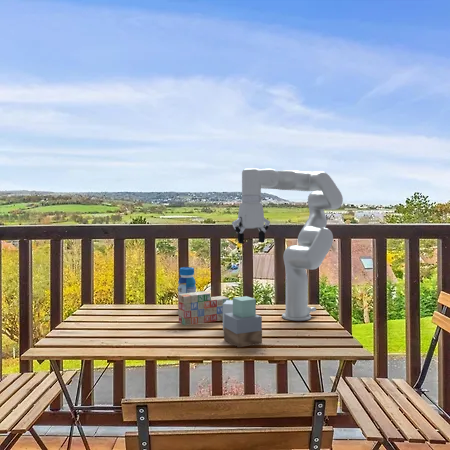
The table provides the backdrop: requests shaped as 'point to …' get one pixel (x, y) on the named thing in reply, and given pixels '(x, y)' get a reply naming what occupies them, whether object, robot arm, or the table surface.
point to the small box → (227, 308)
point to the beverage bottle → (186, 281)
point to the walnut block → (242, 338)
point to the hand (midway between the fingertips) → (251, 242)
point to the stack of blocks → (200, 307)
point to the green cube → (244, 306)
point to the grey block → (242, 323)
